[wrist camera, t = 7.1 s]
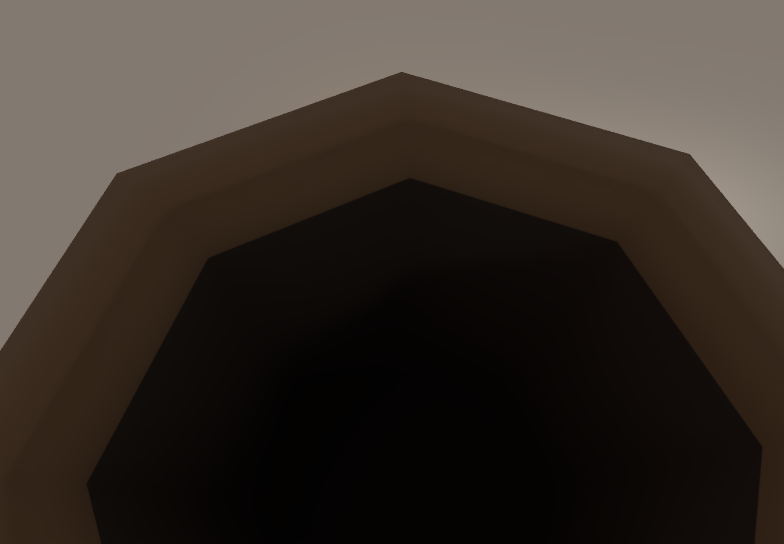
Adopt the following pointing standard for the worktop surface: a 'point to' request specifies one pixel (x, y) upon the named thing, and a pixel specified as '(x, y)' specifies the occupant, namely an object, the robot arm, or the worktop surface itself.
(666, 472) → the beer bottle
